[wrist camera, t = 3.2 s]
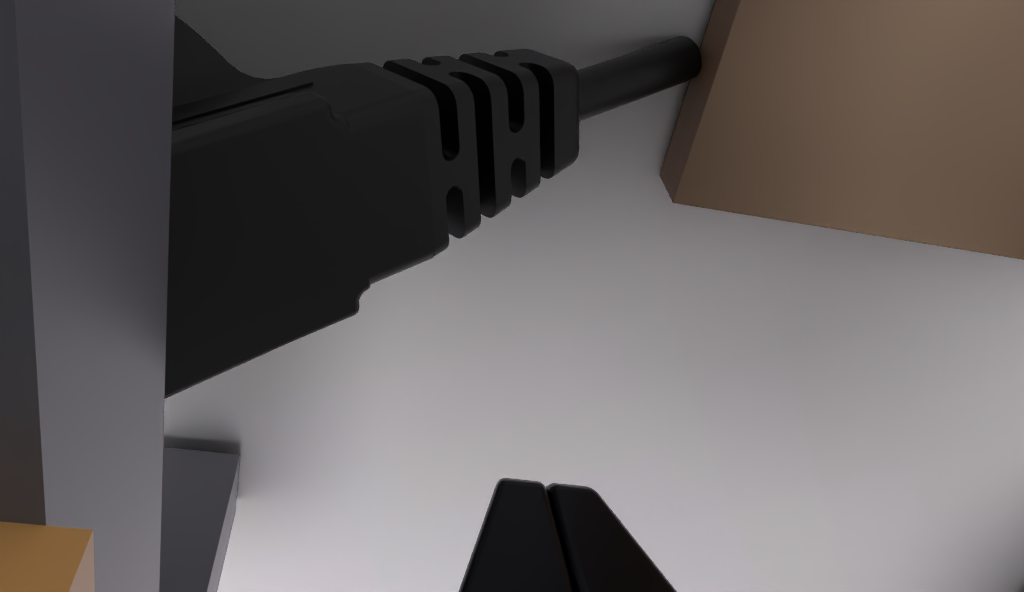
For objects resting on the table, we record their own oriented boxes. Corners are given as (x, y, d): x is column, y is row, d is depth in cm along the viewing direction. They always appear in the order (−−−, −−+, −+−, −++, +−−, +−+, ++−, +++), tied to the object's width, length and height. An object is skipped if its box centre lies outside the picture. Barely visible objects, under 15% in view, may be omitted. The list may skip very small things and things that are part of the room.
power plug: (711, 240, 15) (-110, 661, 9) (437, 113, 20) (-219, 329, 14) (746, -138, 12) (-449, 103, 6) (413, -180, 17) (-436, -70, 11)
